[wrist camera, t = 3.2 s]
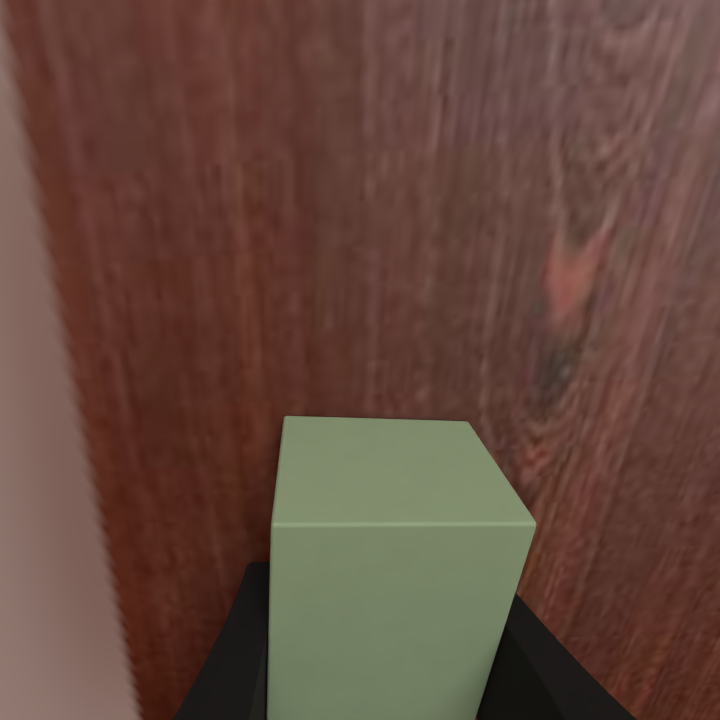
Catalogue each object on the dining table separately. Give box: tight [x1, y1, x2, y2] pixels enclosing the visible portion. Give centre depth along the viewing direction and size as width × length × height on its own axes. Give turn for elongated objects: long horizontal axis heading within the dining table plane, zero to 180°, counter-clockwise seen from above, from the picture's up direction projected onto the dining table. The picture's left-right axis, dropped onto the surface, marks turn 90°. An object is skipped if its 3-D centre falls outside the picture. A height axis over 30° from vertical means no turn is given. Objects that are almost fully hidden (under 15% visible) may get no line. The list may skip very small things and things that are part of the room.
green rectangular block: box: [266, 416, 536, 720], centre depth 10 cm, size 4×8×4 cm, turn 175°
